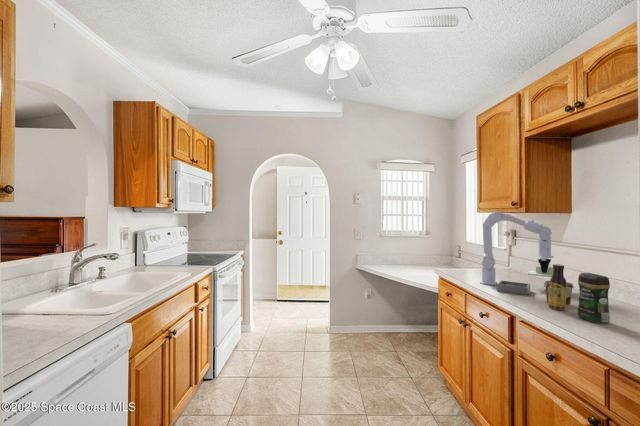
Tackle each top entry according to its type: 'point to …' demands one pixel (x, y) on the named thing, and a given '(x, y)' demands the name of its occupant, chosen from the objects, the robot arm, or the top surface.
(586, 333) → the top surface
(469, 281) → the top surface
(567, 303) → the food container
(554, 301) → the sauce bottle
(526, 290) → the tub
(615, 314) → the top surface
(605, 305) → the coffee jar
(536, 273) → the lid
